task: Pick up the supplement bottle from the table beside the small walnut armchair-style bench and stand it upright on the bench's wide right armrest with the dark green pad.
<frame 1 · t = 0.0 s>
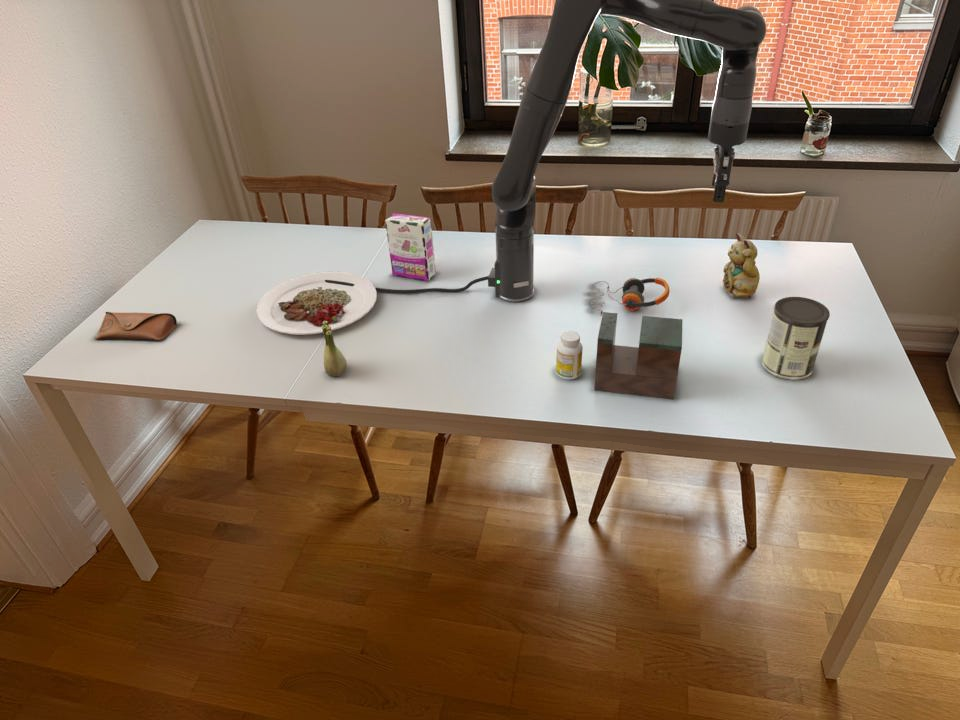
hand: (717, 193, 148), 29 cm above the table, tool pointing down, fingers open, 8 cm apart
sunglasses case: (136, 332, 168), on the table
headphones: (626, 303, 169), on the table
plated food: (318, 307, 174), on the table
bench: (635, 380, 144), on the table
coffee can: (786, 366, 146), on the table
candy bar box: (414, 275, 186), on the table
decorative figurine: (739, 292, 171), on the table
supplement bottle: (568, 373, 147), on the table
fennel bulb: (337, 372, 151), on the table
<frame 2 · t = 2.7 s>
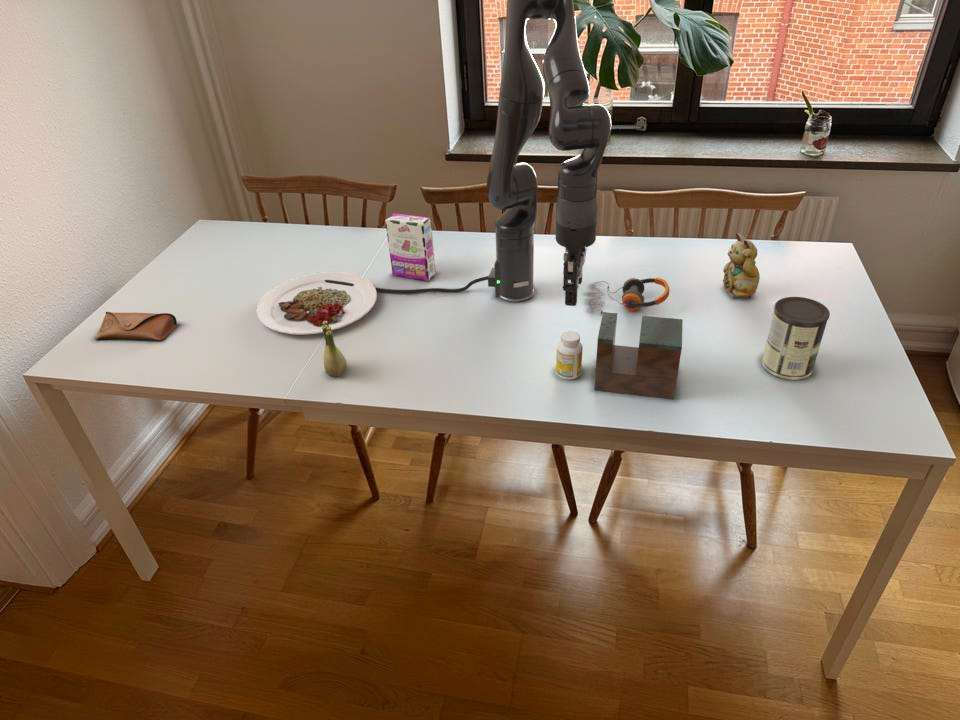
hand: (573, 293, 136), 20 cm above the table, tool pointing down, fingers open, 8 cm apart
nothing on the table moved.
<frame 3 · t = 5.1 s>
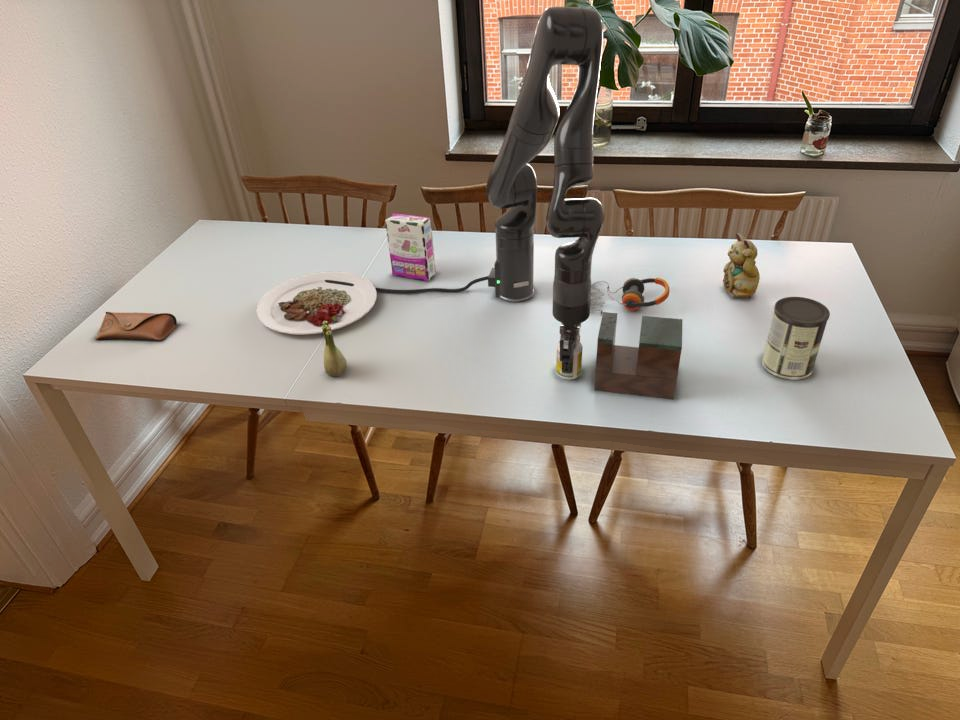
hand: (569, 363, 146), 3 cm above the table, tool pointing down, fingers closed on supplement bottle, 5 cm apart
supplement bottle: (568, 373, 147), on the table, touching gripper
everything else where it was.
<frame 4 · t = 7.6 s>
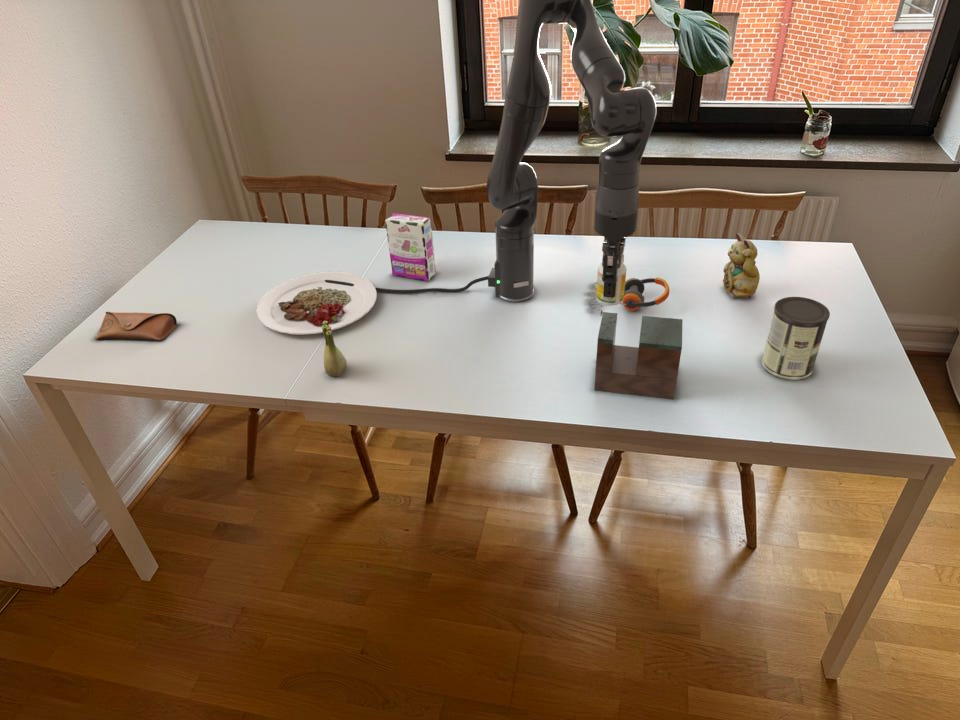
hand: (610, 288, 133), 22 cm above the table, tool pointing down, fingers closed on supplement bottle, 5 cm apart
supplement bottle: (609, 300, 134), point 19 cm above the table, touching gripper
everything else where it was.
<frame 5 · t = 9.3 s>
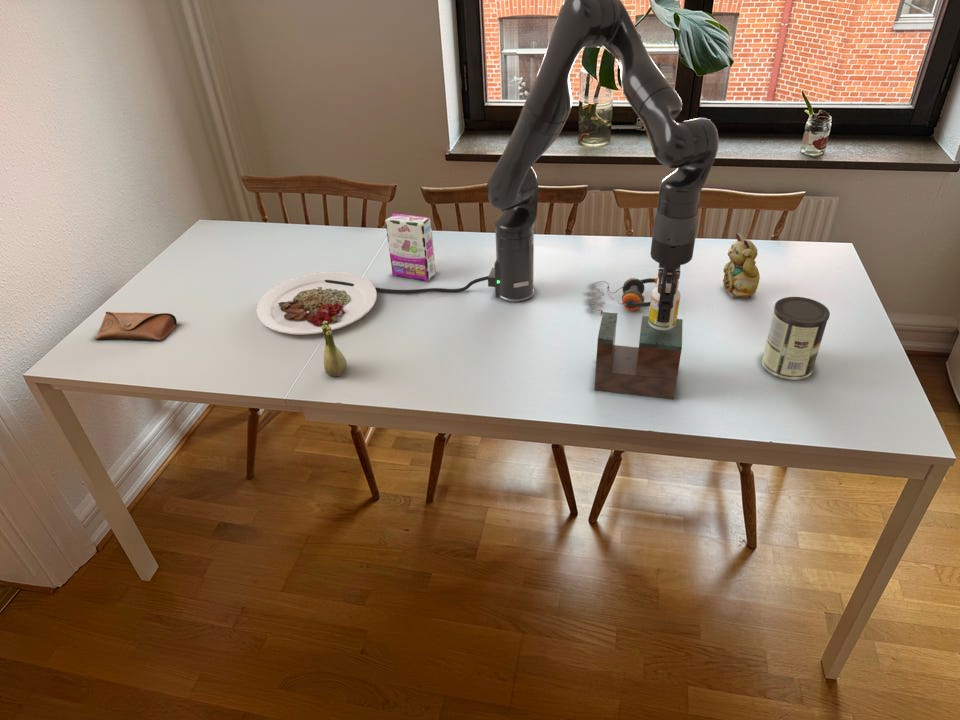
hand: (663, 313, 133), 17 cm above the table, tool pointing down, fingers closed on supplement bottle, 5 cm apart
supplement bottle: (661, 324, 135), point 14 cm above the table, touching gripper
everything else where it was.
when the fingers open (16 cm above the table, at t = 10.3 s): supplement bottle stays where it is, resting on bench.
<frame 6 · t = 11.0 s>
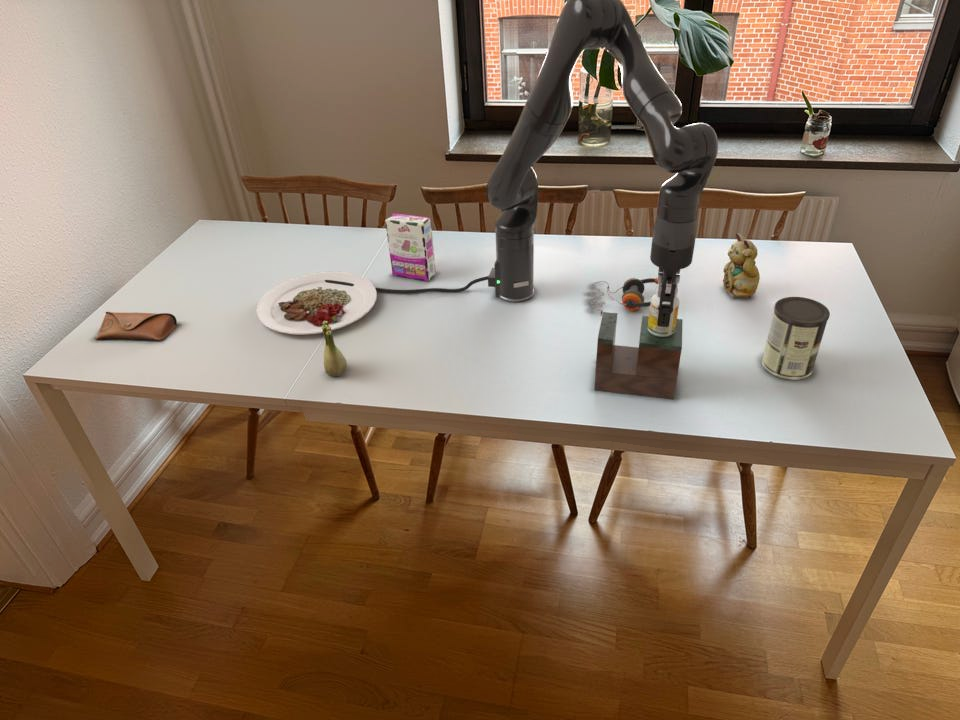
hand: (663, 314, 133), 17 cm above the table, tool pointing down, fingers open, 8 cm apart
supplement bottle: (660, 331, 136), point 13 cm above the table, touching bench
everything else where it was.
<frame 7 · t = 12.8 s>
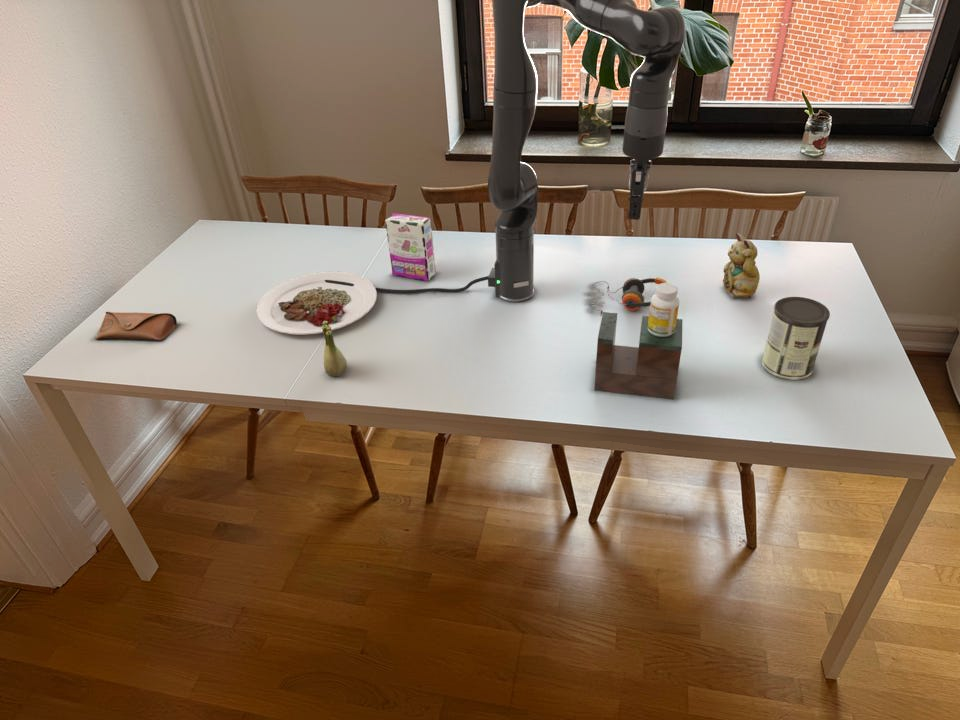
hand: (635, 209, 137), 32 cm above the table, tool pointing down, fingers open, 8 cm apart
nothing on the table moved.
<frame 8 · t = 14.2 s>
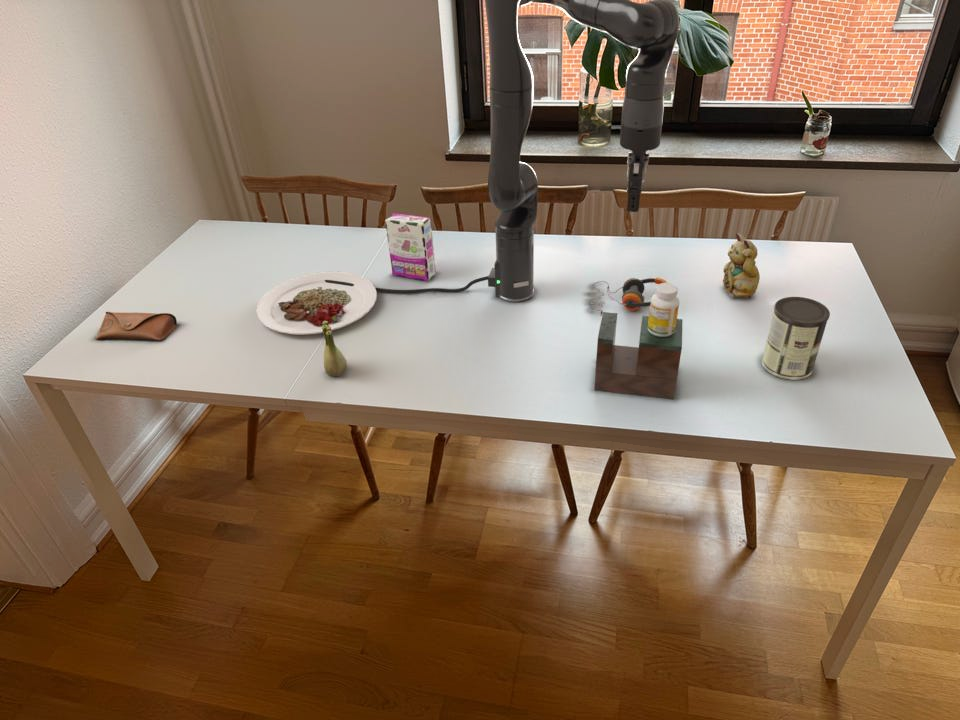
hand: (634, 202, 137), 33 cm above the table, tool pointing down, fingers open, 8 cm apart
nothing on the table moved.
at the end: supplement bottle inside the target area (0.1 cm from its centre), point 12.8 cm above the table; supplement bottle tilted 0°; the gripper is holding nothing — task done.
